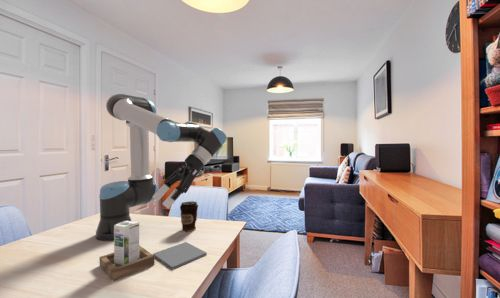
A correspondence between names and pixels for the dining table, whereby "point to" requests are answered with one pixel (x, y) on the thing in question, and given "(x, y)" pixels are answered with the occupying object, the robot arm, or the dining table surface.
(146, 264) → the walnut holder
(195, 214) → the coffee cup
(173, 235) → the dining table surface
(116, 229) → the syrup box
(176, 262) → the rubber mat
